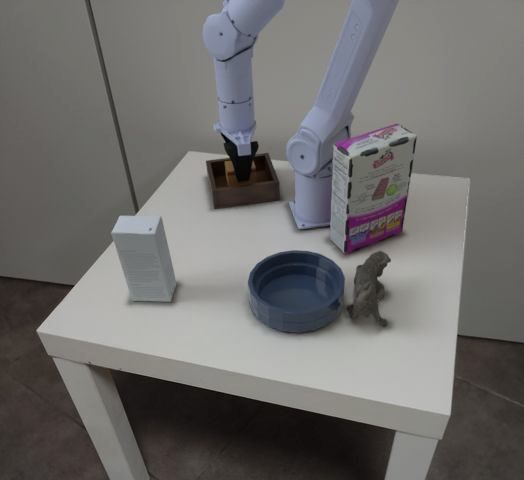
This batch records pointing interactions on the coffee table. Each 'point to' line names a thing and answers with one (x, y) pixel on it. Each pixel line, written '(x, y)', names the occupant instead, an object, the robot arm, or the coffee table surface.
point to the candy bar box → (370, 187)
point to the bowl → (296, 290)
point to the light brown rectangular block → (232, 177)
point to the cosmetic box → (145, 257)
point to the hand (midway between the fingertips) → (241, 174)
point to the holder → (246, 193)
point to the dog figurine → (369, 287)
